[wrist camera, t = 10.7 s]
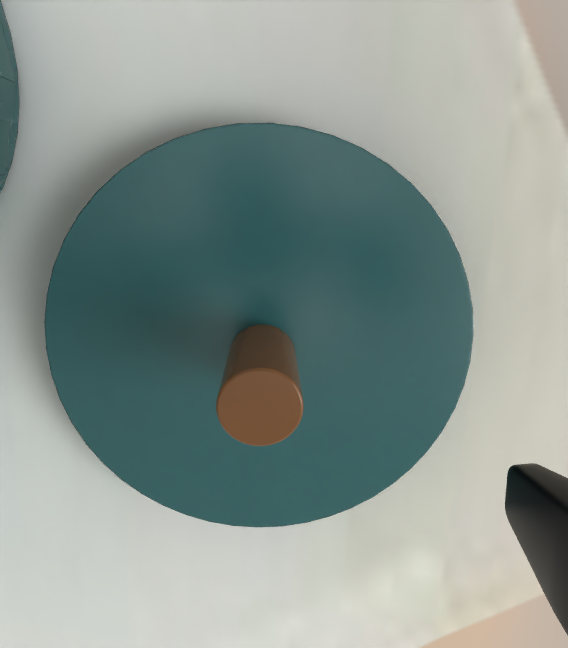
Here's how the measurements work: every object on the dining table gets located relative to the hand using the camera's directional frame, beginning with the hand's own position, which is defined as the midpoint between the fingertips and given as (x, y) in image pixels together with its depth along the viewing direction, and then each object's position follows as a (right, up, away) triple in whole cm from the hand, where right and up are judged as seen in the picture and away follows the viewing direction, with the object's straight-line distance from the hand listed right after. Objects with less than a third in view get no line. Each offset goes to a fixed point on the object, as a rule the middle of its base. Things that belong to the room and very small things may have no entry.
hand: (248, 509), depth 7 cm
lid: (0, +2, +8) cm, 9 cm away
